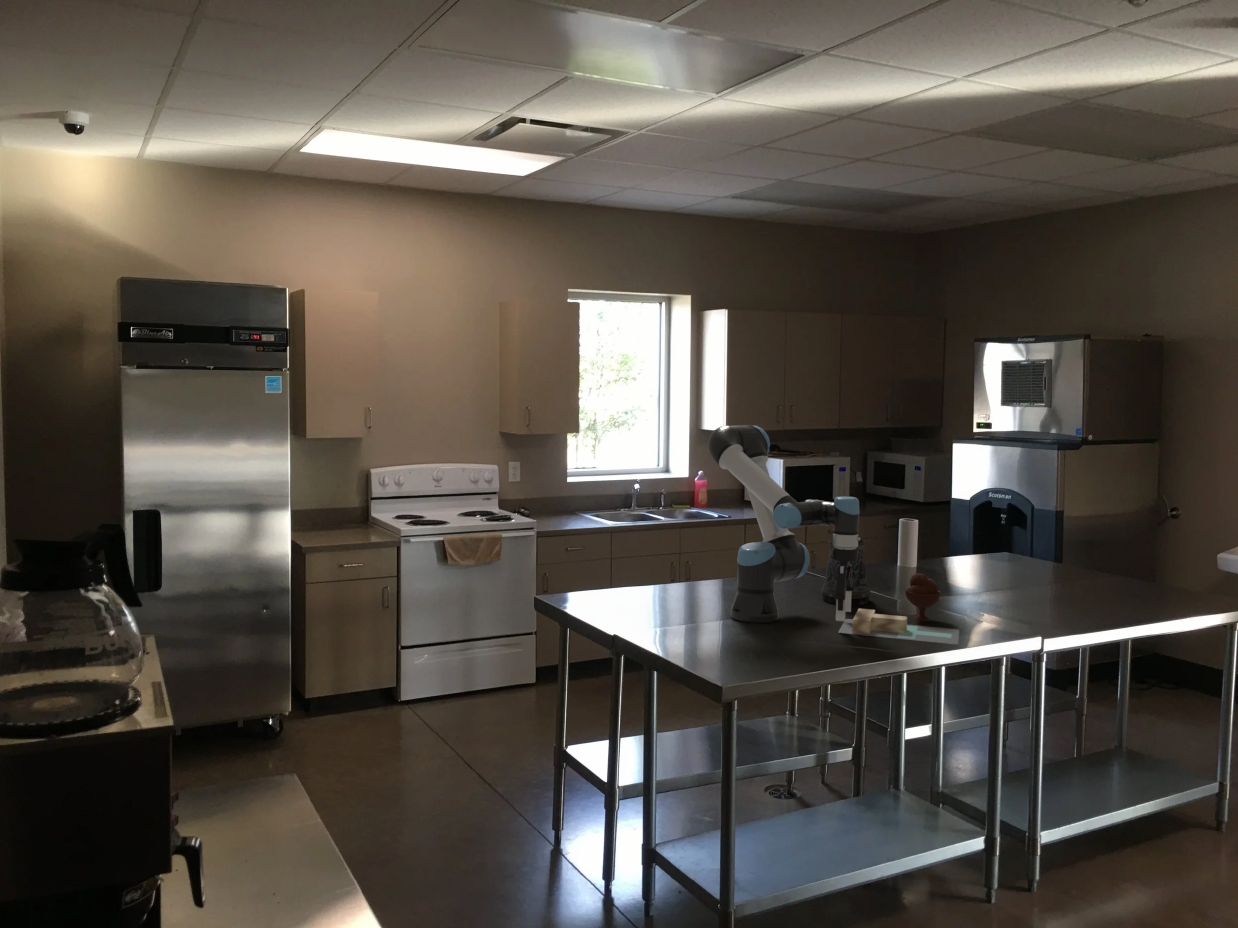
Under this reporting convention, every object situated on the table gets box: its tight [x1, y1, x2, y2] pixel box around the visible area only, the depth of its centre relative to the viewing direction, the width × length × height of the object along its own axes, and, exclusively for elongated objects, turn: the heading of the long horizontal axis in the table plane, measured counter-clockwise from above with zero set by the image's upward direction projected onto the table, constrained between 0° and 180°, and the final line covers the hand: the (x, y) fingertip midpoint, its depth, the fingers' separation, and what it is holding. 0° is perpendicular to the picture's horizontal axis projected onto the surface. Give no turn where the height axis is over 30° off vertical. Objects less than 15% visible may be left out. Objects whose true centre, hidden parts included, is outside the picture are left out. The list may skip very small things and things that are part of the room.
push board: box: [837, 618, 960, 645], centre depth 301 cm, size 34×19×1 cm, turn 70°
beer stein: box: [820, 535, 871, 606], centre depth 343 cm, size 16×19×25 cm
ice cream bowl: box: [904, 573, 941, 622], centre depth 316 cm, size 11×11×15 cm
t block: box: [852, 608, 908, 634], centre depth 303 cm, size 15×16×4 cm
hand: (843, 616), depth 306 cm, fingers open, 13 cm apart
